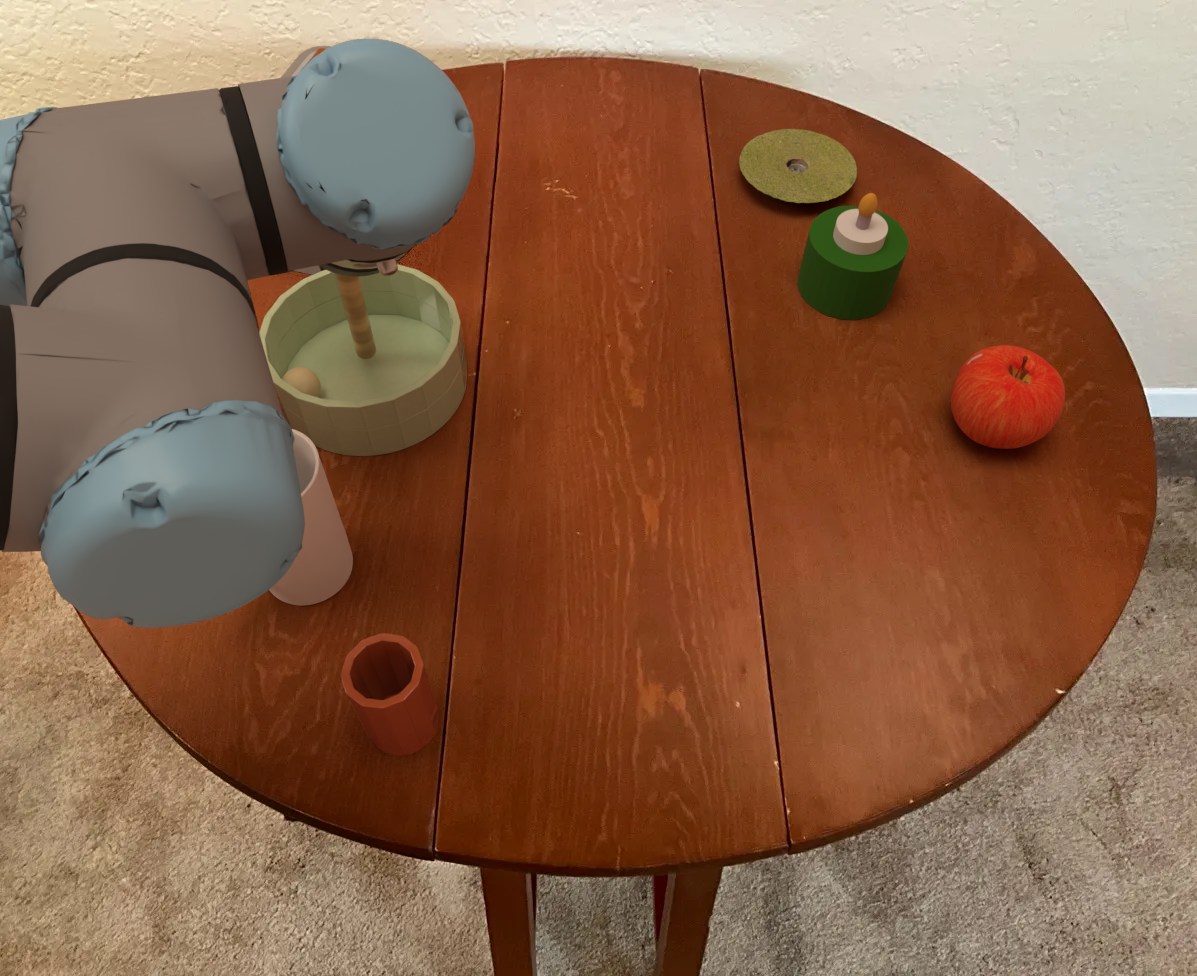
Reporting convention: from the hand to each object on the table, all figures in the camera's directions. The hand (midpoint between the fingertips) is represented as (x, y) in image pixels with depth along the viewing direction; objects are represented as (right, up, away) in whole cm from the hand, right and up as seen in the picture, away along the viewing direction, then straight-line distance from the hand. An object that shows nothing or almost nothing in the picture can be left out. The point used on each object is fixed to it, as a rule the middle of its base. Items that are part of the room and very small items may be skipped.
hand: (334, 247), depth 73 cm
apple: (+51, -13, +4) cm, 53 cm away
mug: (-2, -25, -5) cm, 25 cm away
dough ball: (-3, -10, +3) cm, 11 cm away
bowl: (+2, -9, +6) cm, 11 cm away
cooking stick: (+1, -7, +6) cm, 9 cm away
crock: (+7, -33, -10) cm, 36 cm away
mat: (+39, +12, +21) cm, 46 cm away
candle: (+42, 0, +13) cm, 44 cm away
